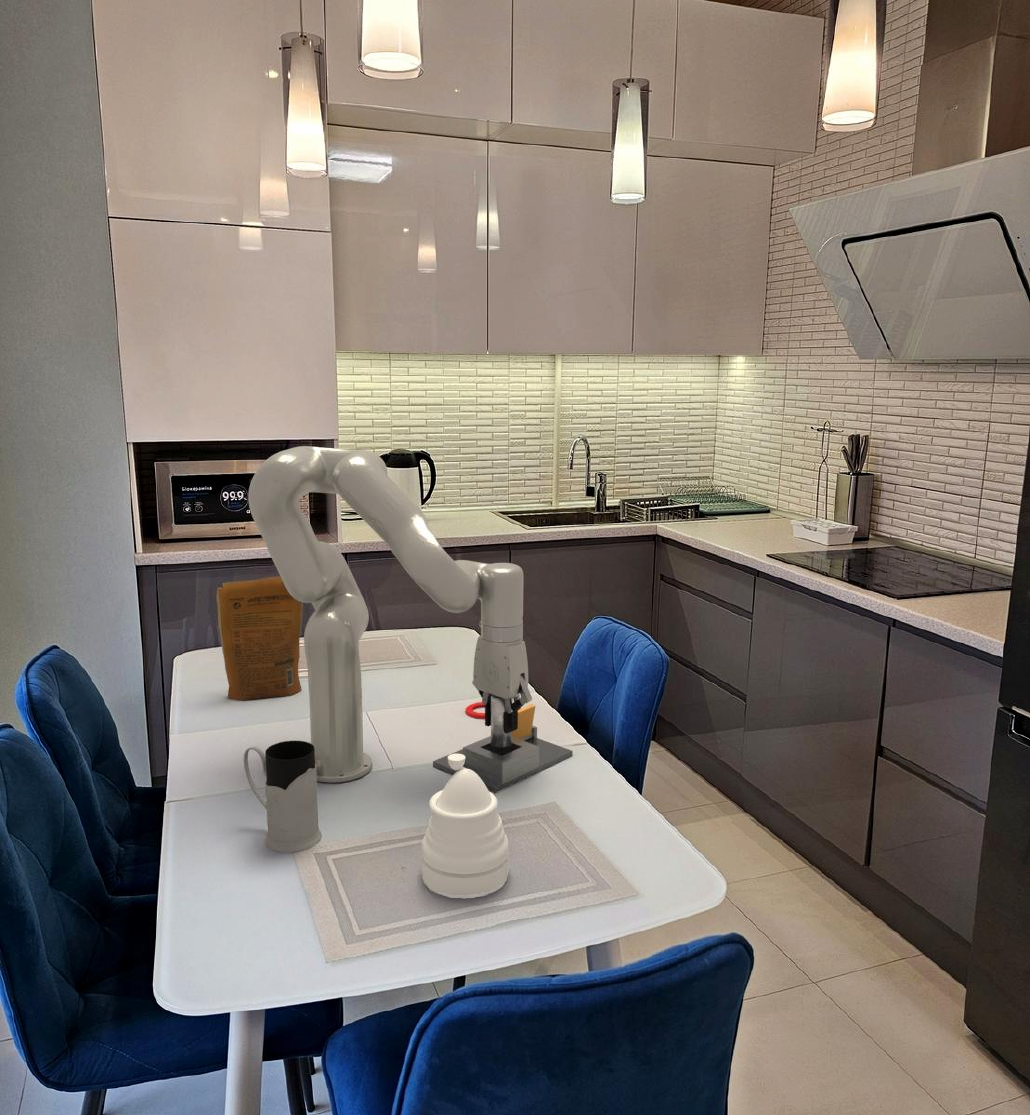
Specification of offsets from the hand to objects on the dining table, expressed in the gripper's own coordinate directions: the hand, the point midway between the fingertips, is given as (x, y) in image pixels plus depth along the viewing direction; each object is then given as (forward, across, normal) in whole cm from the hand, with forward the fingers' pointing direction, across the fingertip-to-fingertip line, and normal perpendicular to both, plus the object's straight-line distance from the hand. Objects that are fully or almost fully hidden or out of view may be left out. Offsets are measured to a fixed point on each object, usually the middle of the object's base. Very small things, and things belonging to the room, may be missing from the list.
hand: (501, 726), depth 166 cm
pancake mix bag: (+9, -66, -8) cm, 67 cm away
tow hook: (+9, -23, +20) cm, 32 cm away
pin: (+3, 0, 0) cm, 3 cm away
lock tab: (+7, -5, +10) cm, 13 cm away
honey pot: (+9, +20, -29) cm, 36 cm away
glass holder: (+9, -10, -41) cm, 43 cm away
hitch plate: (+9, -3, +4) cm, 10 cm away
